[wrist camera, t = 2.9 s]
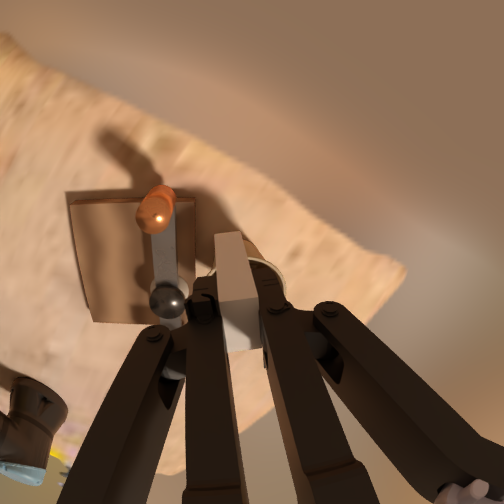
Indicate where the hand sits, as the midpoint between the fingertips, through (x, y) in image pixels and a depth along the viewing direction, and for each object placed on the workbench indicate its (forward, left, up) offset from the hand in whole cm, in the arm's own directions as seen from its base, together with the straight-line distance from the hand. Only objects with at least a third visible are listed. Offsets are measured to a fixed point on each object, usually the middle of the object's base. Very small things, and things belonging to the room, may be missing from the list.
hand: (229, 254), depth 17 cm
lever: (-6, -11, -17) cm, 22 cm away
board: (-11, -11, -20) cm, 25 cm away
